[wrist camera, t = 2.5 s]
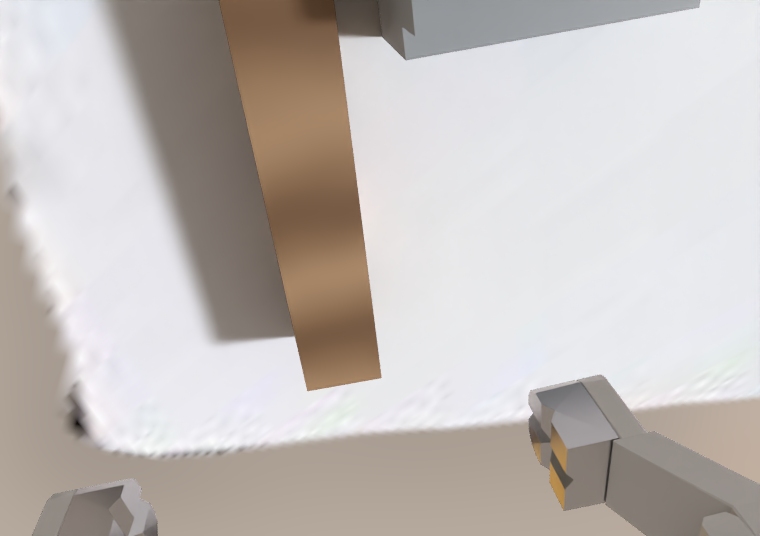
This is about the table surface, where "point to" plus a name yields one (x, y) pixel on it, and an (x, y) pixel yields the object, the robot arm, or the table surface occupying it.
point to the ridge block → (501, 20)
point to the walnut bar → (307, 179)
